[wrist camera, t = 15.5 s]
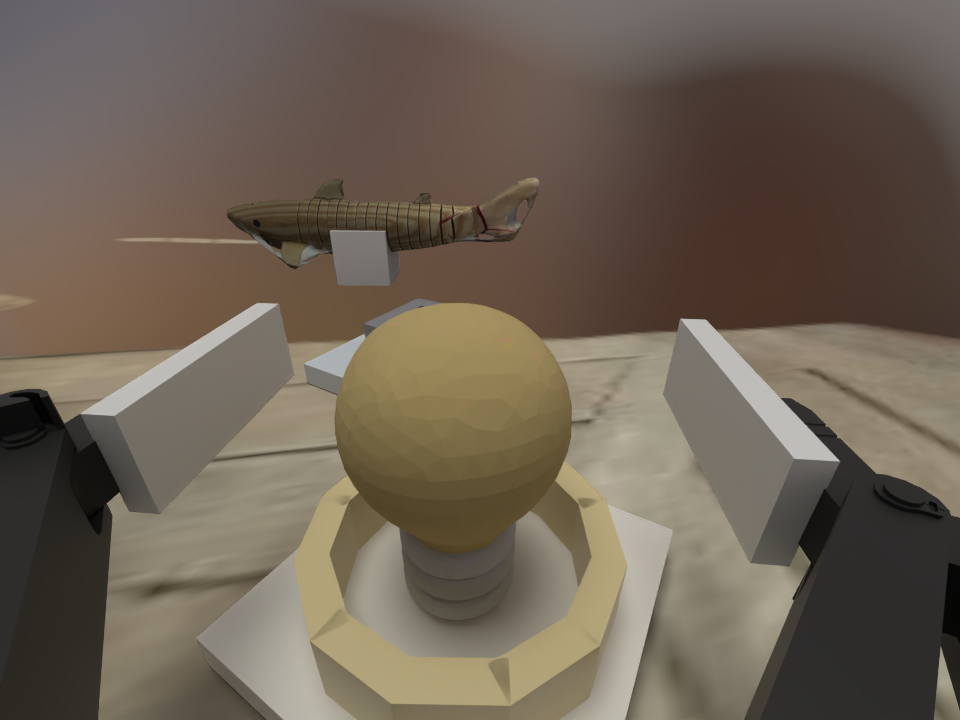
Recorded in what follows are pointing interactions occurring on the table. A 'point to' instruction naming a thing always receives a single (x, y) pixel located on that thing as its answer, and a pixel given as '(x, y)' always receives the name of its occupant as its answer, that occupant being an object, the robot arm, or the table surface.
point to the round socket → (448, 621)
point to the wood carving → (375, 228)
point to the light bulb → (454, 444)
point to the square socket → (349, 352)
